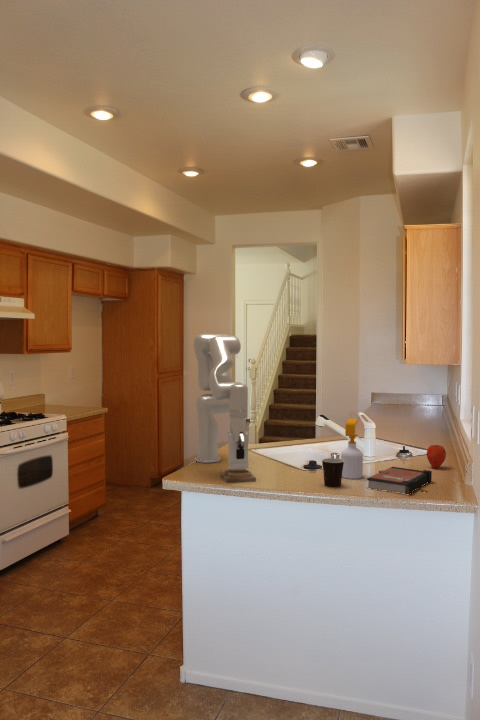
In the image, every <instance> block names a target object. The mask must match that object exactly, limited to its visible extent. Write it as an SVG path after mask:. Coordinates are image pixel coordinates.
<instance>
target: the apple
mask: <svg viewBox="0 0 480 720" xmlns="http://www.w3.org/2000/svg"><path fill="white" fill-rule="evenodd" d="M446 457H447V452H446V449H445V447H444V446H442V445H440V444H435V445H434V444H431V445H429V446H428V447H427V450H426V458H427V461H428V463H429V464H430V466H431V467H432V469H439V468H440V467H441V466H442V465H443V463H444V462H445V460H446Z"/></svg>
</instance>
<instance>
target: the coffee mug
mask: <svg viewBox="0 0 480 720" xmlns="http://www.w3.org/2000/svg"><path fill="white" fill-rule="evenodd" d="M321 462H322V471H323V472H322V473H323V482H324V483H323V485H324V486H325V487H328V488H340V487H341V485H342V478H343V477H342V472H343V465H344V460H341V458H333V457H331V458H328V457H327V458H322V460H321Z"/></svg>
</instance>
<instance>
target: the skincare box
mask: <svg viewBox="0 0 480 720" xmlns="http://www.w3.org/2000/svg"><path fill="white" fill-rule="evenodd" d="M238 441H241V440H238ZM244 441H245V439H244ZM227 442H228V443H227V445H228V450H227V451H228V452H227V453H228V468H229V469H247V470H248V469H249V434H248V431H247V430H246V441H245V443H244V459H237V458H236V449H237V442H236V443H234V442H233V434H232V433H231V432H230V431H228V432H227ZM239 444H241V443H239Z"/></svg>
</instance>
